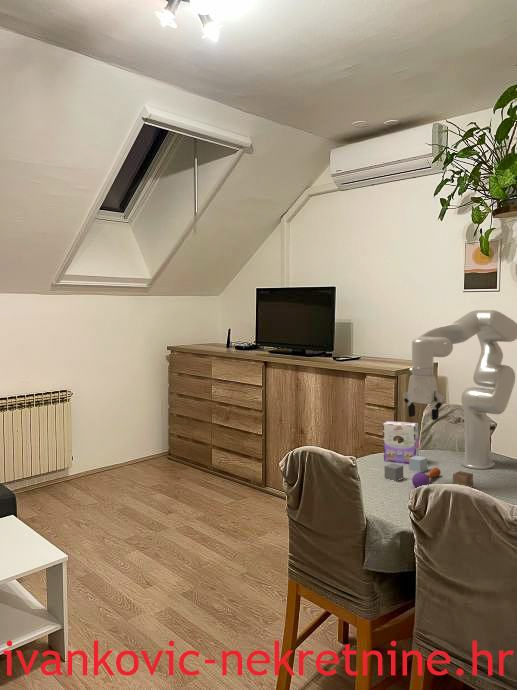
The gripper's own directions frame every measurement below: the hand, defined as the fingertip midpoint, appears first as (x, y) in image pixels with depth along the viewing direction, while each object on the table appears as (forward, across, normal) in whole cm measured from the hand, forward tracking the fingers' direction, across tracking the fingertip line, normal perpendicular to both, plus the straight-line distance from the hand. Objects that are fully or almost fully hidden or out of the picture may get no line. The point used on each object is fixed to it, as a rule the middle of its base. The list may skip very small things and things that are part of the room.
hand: (423, 417), depth 206 cm
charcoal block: (+24, -11, -4) cm, 27 cm away
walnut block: (+24, +13, +4) cm, 28 cm away
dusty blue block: (+24, -10, +11) cm, 29 cm away
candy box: (+24, -22, +17) cm, 37 cm away
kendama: (+25, +1, 0) cm, 25 cm away
